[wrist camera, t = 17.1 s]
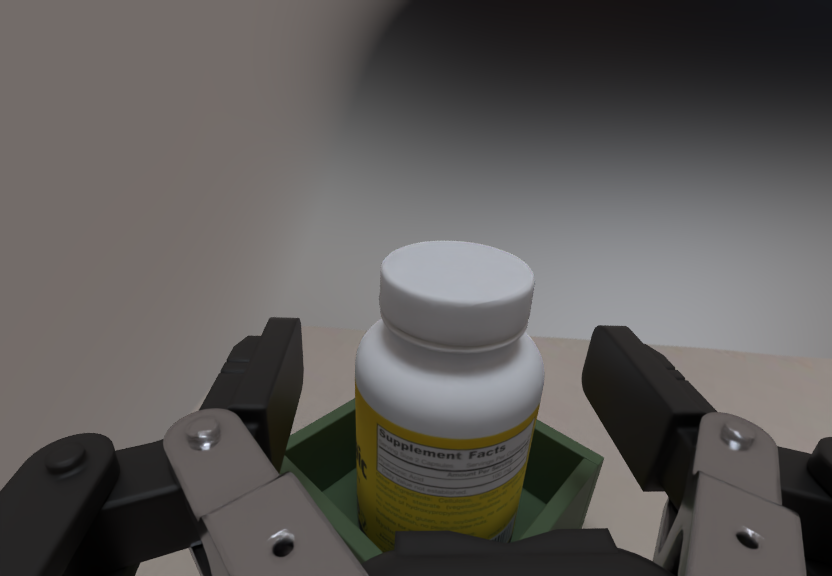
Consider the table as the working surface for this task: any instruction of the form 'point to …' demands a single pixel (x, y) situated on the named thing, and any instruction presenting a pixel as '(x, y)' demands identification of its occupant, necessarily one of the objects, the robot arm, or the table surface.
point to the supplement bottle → (446, 393)
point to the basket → (539, 502)
